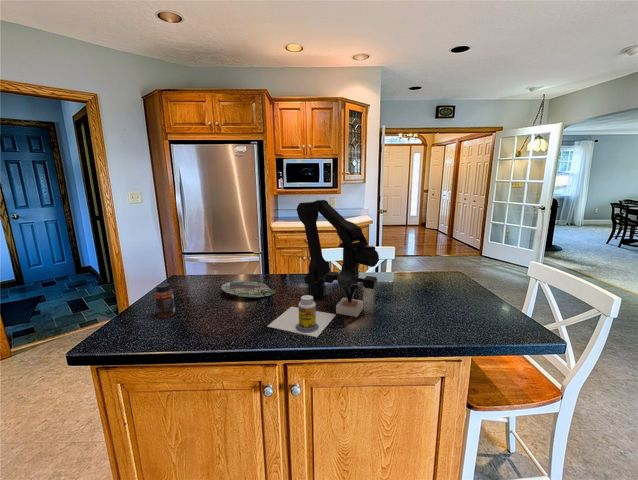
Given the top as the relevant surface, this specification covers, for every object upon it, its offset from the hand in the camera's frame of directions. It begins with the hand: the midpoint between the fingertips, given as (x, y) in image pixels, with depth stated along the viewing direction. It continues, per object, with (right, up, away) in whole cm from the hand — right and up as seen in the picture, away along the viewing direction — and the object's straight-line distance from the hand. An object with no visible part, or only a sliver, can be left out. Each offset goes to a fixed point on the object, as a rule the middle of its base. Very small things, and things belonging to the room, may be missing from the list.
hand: (349, 301), depth 111 cm
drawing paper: (-17, -5, -7) cm, 19 cm away
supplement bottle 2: (-15, -6, -12) cm, 20 cm away
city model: (-41, 0, +20) cm, 46 cm away
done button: (0, -2, 0) cm, 3 cm away
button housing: (0, -3, +1) cm, 4 cm away
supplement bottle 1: (-67, -4, -2) cm, 67 cm away
